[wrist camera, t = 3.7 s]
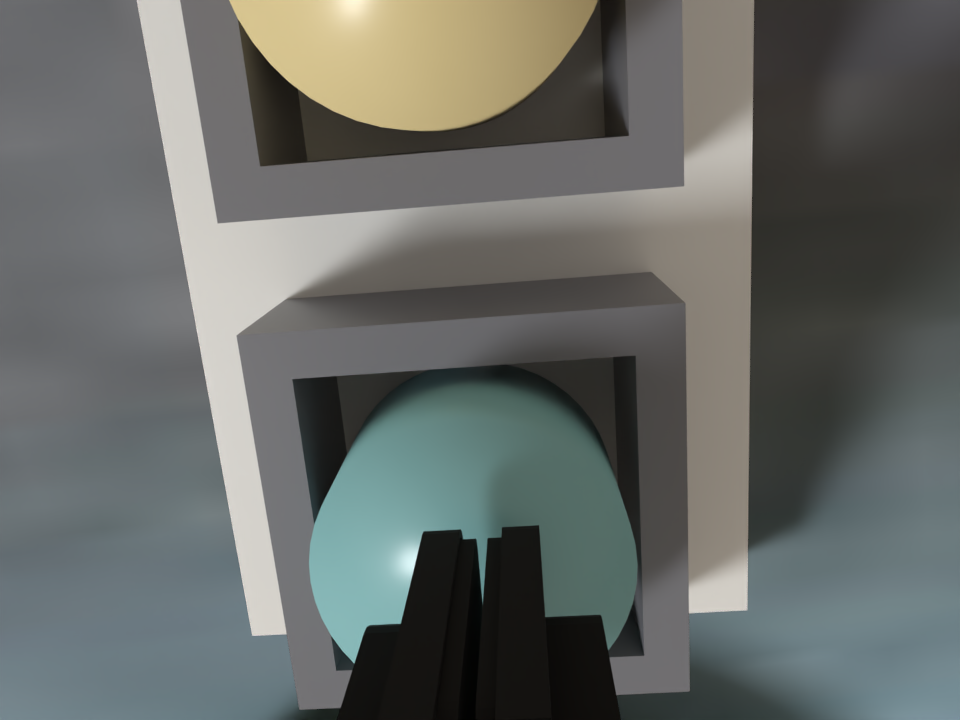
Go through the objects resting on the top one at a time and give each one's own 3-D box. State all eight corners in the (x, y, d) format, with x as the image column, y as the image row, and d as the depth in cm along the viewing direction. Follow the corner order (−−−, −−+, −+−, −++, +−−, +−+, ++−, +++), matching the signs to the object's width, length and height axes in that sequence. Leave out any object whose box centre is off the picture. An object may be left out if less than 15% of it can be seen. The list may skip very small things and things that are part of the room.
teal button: (330, 371, 14) (286, 430, 11) (606, 352, 14) (632, 407, 11) (363, 611, 16) (331, 718, 13) (616, 597, 15) (641, 703, 13)
